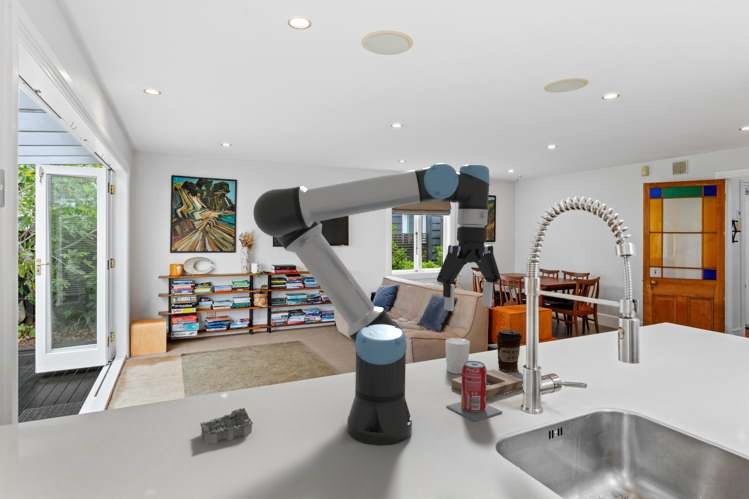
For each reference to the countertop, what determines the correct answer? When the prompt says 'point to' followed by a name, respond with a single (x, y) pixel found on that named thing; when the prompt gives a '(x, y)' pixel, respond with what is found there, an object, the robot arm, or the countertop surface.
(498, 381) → the walnut holder
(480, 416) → the grey rubber mat
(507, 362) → the coffee cup
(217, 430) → the egg carton
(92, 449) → the countertop surface
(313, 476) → the countertop surface
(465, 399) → the soda can
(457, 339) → the white cup
